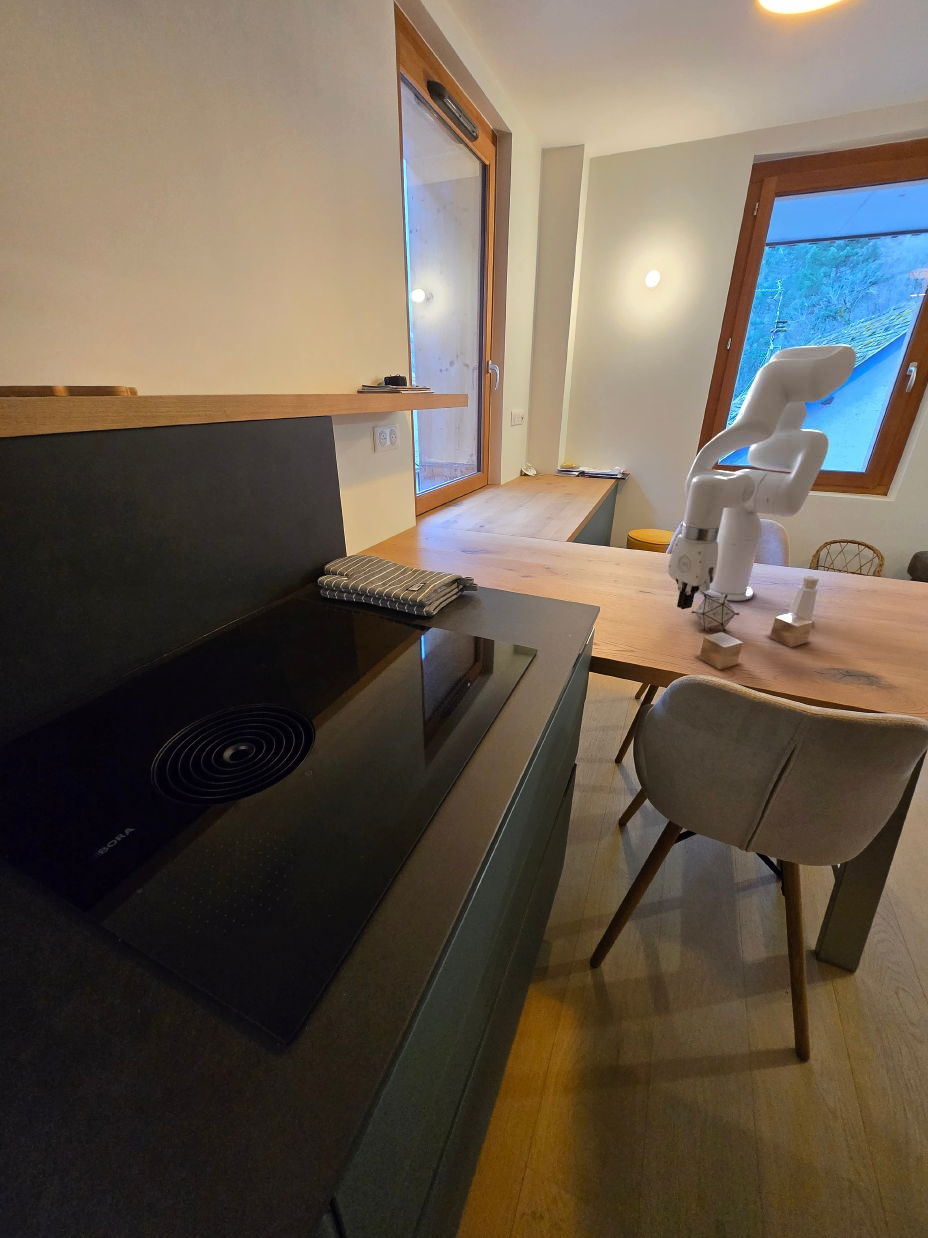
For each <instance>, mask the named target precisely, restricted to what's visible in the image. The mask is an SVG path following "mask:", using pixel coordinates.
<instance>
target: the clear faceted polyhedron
mask: <svg viewBox="0 0 928 1238" xmlns="http://www.w3.org/2000/svg"><path fill="white" fill-rule="evenodd" d="M703 597H704V599H703V600H702V602H701V603H700V604H699V606H698V607H697V608H696V609H695V611H694V610H692V611H690V614H695V616H696V618H697V619H698V621H699V622H700V624H701V626H702V629H701V632H705V630H707V629H708V630H709V629H710V630H712V629H713V630H716V629H717V630H723V632H727V628H726V627H727V626H728V625H729V623H730V622H732V620H733V618H734V617H735V616H740V613H739V612H736V611H735V610H734V608H733V607H732V606H731V604H730V602H729V600H727V599H726V598H727V597H728V594H727V595H725V597H712V596H710V597H709V596H708V597H707V594H703Z"/></svg>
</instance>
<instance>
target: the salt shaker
mask: <svg viewBox="0 0 928 1238" xmlns="http://www.w3.org/2000/svg"><path fill="white" fill-rule="evenodd" d="M819 581H820V580H819V578H818V577H816V576H810V575H806V576H804V577H803V580H802V584H801V585H799V586H798V588H797V590H796V592H795V595H794V598H793V599H792V601H791V604H790V607H789V609H788V611H787V613H786V614H789V613H792V614H795V615H797V616H800V617H802V618H805V619H807V620H810V621H812V620H813V619H812V618H813V613H814V610H815V609H814V608H815V603H816V599H817V593H818V588H817V585H818V582H819Z"/></svg>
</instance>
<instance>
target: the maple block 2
mask: <svg viewBox="0 0 928 1238" xmlns="http://www.w3.org/2000/svg"><path fill="white" fill-rule="evenodd" d="M813 625H814V622H813V621H812V620H811V621H810V620H807V619H805V618H802V617H800V616H797V615H795V614H792V613H789V614H787V613H785V614H782V615H778V616H775V618H774V620H773V624H772V628H771V631H770V634H769V639H771V640H774V641H776V642H778V643H781V644H783V645H785V646H787V647H788V648H793V647H796V646H799V645H803V644H806V643H807V641H808V639H809V637H810V633H811V629H812V626H813Z"/></svg>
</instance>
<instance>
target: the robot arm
mask: <svg viewBox="0 0 928 1238" xmlns="http://www.w3.org/2000/svg"><path fill="white" fill-rule="evenodd" d="M856 362H857V353H856V350H855V349H854V347H852V346H851V345H848V344H830V345H808V346H794V347H788V348H784V349H781V350H778V351H777V352H775V353H774V354H773V355H772V356H771V357H770V359H769V361H768V362H767V363H765V364H764V365H763V366H761V367H760V368H759V370H758V372H757V373H756V376H755V377H754V380H753V381H752V384H751V385H750V388H749V389H748V392H747V394H746V396H745V399H744V400H743V402H742V404H741V407H740V408H739V411H738V413H737V416H736V417H735V420H734V422H733V423H732V424H731V425H729V427H727V428H725V429H724V430H722V431H721V432H720V433H718V434H717V435H715V436H714V437H713V438H712V439H711V440H709V441H708V442H707V443H706V444H705V445H704V446H702V448H701V449H700V451H699V452H698V453H697V455H696V456H695V458H694V461H693V463H692V465H691V468H690V470H689V472H688V474H687V477H686V479H685V483H684V494H685V496H686V498H687V501H686V507H685V512H684V518H683V522H681V523H680V525H679V527H680V529H681V534H678V535H677V537H676V539H675V541H674V544H673V547H672V550H671V553H670V557H669V560H668V565H667V574H668V575H669V576H670V578H672V580H673V581H675V582H676V585H677V591H679V593H678V599H677V603H676V604H677V605H676V608H679V609H680V610H686V609H687V610H688V609H691V608H692V607H693V603H694V599H695V594H698V593H699V592H703V594H704V595H706V596H708V597H709V596H710V597H725V595H727V594H728V597H727V598H726V599H727V601H733V602H736V601H738V602H739V601H740V602H741V601H746V600H749V599H751V598H752V597H753V594H754V591H753V589H752V588H751V587H749V583H750V580H751V579H750V578H751V576H752V572H753V568H754V564H755V560H756V556H757V552H758V548H759V544H760V541H761V537H762V533H763V525H762V521H761V519H760V516H759V514H764V515H771V516H777V517H785V518H786V517H792V516H795V515H796V514H797V513H799V512H800V510H801V509H802V507H803V505H804V504H805V502H806V500H807V498H808V496H809V494H810V491H811V490H812V488H813V485H814V483H815V481H816V480H817V477H818V475H819V473H820V471H821V469H822V467H823V464H824V463H825V461H826V457H827V454H828V449H829V438H828V436H827V435H826V433H825V432H822V431H820V430H816V429H815V430H814V429H802V426H803V424H804V422H805V420H806V418H807V415H808V409H807V406H806V403H815V402H819V401H822V400H823V399H826V398H827V397H828V396H829V395H830V394H833V393H834V392H835V391H836V390H838V389H840V388H841V387H842V386H843V385H844V384H845V383H846V382H847V381H848V380H849V378H850V377H851V375H852V373H853V371H854V369H855V368H856V367H855V366H856ZM747 447H749V449H748V453H747V462H748V464H749V465H750V466H751V467H754V468H756V469H740V470H736V471H729V470H719V469H712V468H714V466H715V464H716V463H717V462H718V461H719V460H721V458H723V457H724V456H725V457H726V456H727V455H728V454H730V453H732V452H735V451H738V450H741V449H744V448H747ZM759 469H762V470H759ZM775 471H777V472H775ZM784 472H788V473H784Z"/></svg>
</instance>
